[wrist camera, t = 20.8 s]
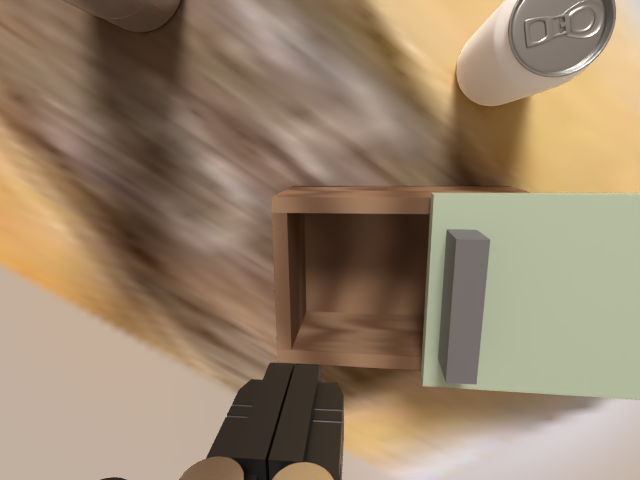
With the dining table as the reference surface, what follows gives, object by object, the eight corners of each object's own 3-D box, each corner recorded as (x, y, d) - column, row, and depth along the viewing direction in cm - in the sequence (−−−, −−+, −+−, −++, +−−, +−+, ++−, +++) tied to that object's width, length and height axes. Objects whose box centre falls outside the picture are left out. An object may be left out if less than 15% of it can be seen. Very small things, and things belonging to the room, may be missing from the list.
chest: (297, 317, 41) (277, 362, 32) (293, 186, 37) (271, 197, 29) (492, 325, 38) (528, 377, 30) (506, 186, 35) (551, 198, 26)
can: (536, 97, 33) (627, 69, 21) (459, 114, 34) (507, 97, 22) (529, 17, 32) (622, -59, 20) (449, 38, 33) (494, -23, 21)
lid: (420, 377, 30) (428, 412, 26) (431, 192, 27) (442, 200, 23) (698, 394, 28) (754, 435, 24) (748, 193, 24) (824, 202, 20)
